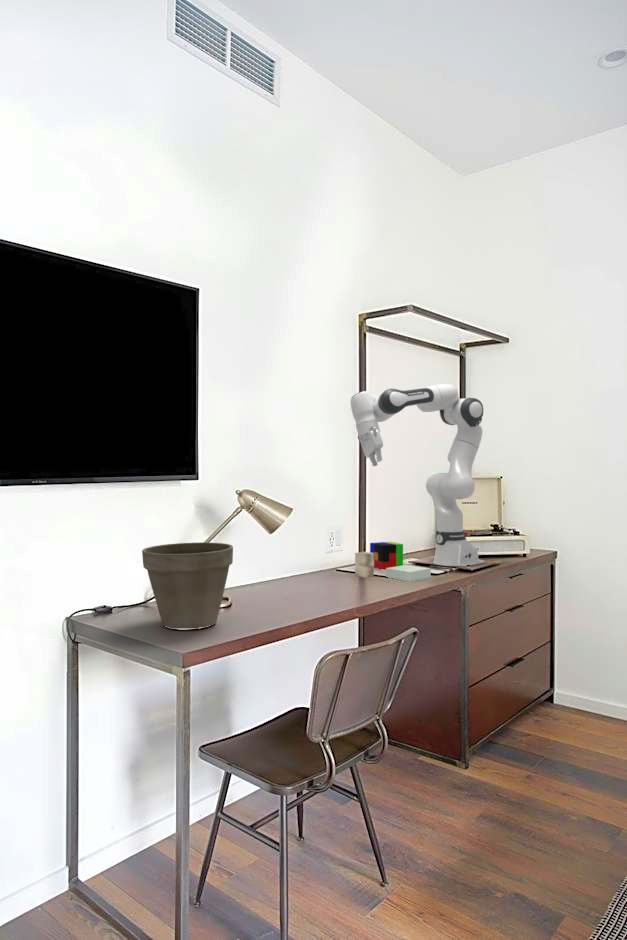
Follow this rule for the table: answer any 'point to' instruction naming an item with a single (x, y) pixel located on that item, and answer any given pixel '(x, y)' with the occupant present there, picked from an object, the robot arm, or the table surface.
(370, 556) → the maple block
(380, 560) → the puzzle toy
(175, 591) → the plant pot
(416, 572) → the sage base block
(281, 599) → the table surface
